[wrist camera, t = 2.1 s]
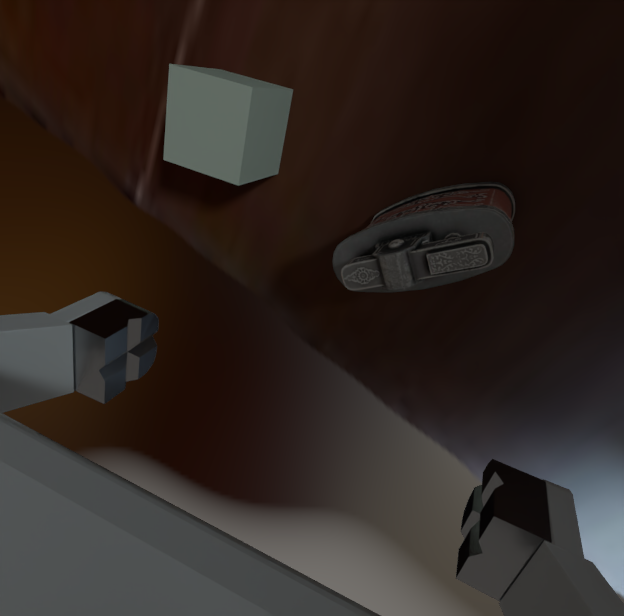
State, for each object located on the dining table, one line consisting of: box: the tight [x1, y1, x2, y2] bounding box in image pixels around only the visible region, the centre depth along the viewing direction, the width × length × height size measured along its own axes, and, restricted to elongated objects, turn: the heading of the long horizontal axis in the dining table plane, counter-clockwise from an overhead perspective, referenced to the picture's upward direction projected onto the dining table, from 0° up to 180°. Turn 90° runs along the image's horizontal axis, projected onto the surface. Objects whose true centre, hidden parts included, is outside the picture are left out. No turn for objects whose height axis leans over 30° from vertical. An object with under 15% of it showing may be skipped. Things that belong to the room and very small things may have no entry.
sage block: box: [163, 64, 293, 186], centre depth 27 cm, size 5×5×5 cm
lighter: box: [333, 182, 515, 292], centre depth 23 cm, size 8×3×10 cm, turn 109°
